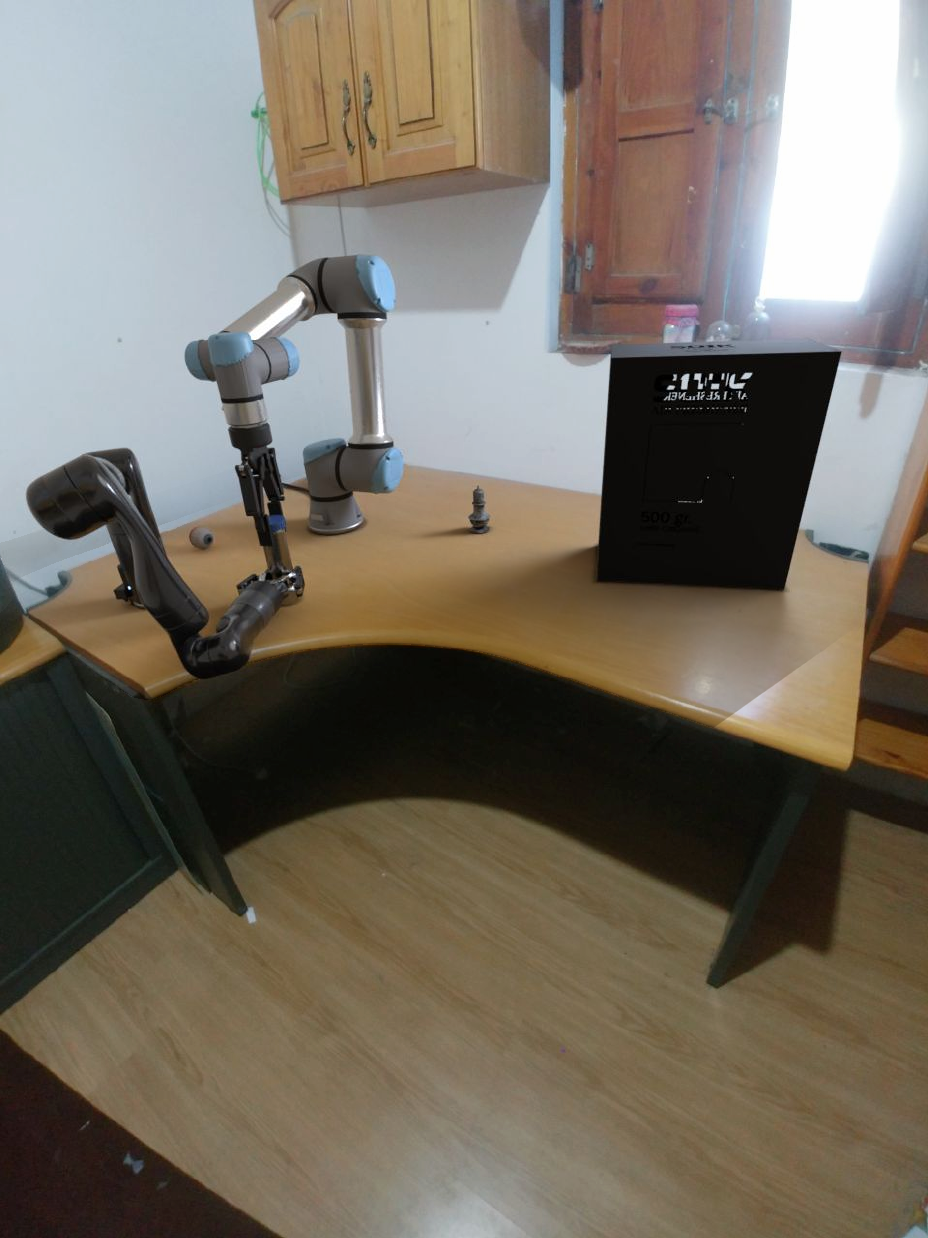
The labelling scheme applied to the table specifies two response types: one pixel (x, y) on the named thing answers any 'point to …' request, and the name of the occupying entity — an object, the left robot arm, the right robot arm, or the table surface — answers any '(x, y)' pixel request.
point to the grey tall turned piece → (479, 513)
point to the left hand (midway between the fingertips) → (286, 570)
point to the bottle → (280, 561)
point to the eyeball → (201, 537)
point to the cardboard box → (710, 460)
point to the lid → (276, 522)
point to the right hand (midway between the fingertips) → (273, 538)
